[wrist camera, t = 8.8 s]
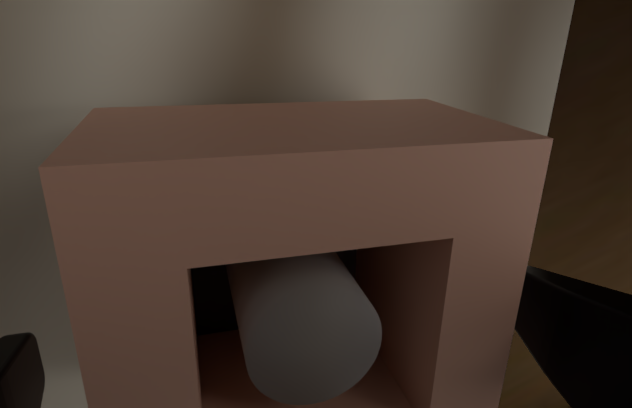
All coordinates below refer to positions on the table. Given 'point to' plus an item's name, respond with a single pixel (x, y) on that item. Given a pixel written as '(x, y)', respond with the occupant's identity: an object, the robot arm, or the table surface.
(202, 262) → the collar
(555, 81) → the post stand
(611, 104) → the table surface
